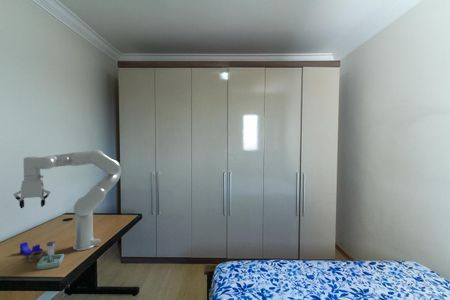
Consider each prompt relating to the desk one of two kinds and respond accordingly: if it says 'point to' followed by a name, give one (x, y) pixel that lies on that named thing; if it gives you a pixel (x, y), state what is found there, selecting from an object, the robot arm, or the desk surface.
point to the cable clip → (28, 249)
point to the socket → (36, 256)
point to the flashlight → (50, 252)
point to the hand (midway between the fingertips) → (32, 206)
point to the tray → (45, 265)
